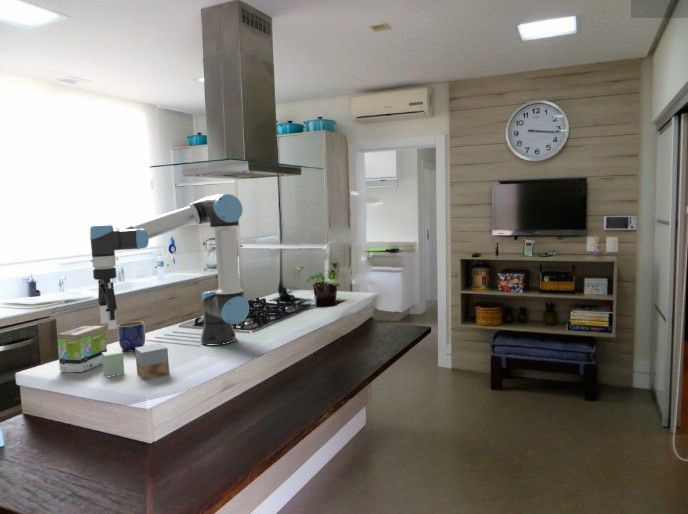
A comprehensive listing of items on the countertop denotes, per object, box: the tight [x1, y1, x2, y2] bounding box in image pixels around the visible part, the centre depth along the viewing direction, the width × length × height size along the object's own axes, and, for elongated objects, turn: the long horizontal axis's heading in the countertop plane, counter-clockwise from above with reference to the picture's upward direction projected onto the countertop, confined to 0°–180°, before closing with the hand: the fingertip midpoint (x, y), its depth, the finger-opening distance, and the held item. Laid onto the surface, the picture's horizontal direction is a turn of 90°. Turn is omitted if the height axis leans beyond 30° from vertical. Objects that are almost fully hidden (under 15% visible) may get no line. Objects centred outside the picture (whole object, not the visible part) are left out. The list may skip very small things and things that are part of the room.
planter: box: [117, 320, 146, 352], centre depth 223 cm, size 11×11×11 cm
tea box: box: [57, 325, 108, 373], centre depth 199 cm, size 15×10×15 cm
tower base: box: [135, 362, 170, 381], centre depth 186 cm, size 9×9×5 cm
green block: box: [102, 349, 125, 378], centre depth 189 cm, size 6×6×8 cm
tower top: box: [134, 342, 170, 367], centre depth 186 cm, size 9×9×5 cm
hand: (108, 325), depth 187 cm, fingers open, 13 cm apart
